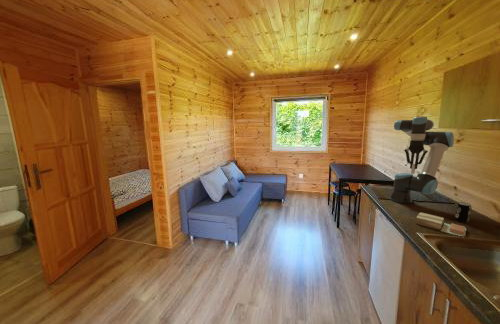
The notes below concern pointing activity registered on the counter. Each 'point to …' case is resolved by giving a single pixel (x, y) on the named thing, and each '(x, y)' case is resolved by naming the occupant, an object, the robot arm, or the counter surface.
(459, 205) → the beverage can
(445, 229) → the mat
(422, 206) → the counter surface
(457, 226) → the tile
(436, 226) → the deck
